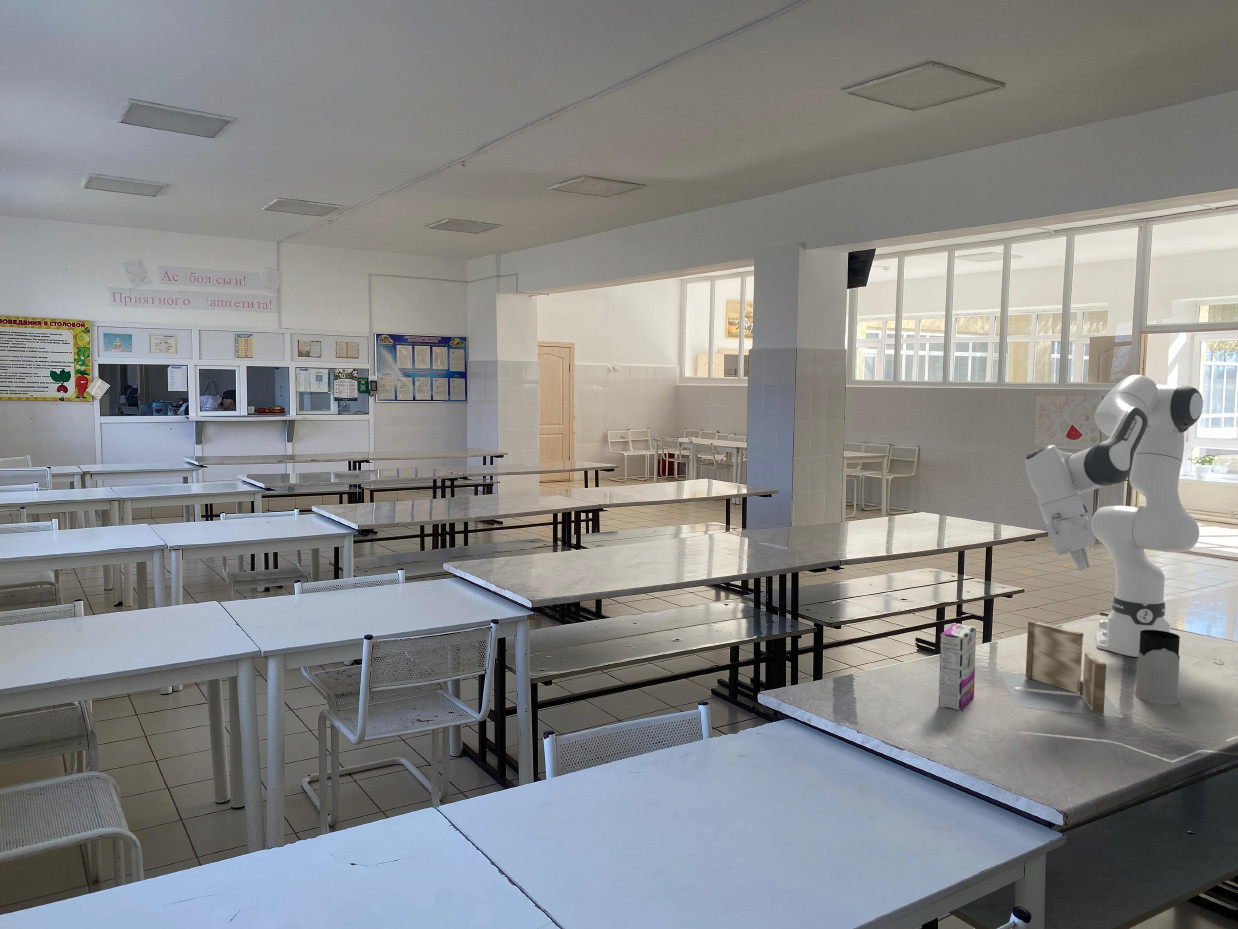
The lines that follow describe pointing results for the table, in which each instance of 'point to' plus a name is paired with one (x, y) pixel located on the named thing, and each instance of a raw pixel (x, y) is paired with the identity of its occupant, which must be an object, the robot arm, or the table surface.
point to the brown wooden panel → (1054, 655)
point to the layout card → (1050, 697)
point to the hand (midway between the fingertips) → (1084, 568)
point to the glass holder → (1158, 667)
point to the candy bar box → (957, 666)
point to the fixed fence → (1094, 683)
